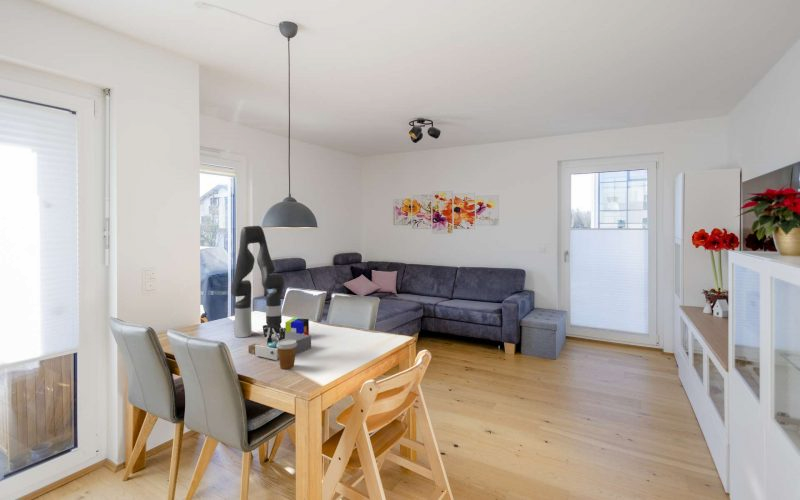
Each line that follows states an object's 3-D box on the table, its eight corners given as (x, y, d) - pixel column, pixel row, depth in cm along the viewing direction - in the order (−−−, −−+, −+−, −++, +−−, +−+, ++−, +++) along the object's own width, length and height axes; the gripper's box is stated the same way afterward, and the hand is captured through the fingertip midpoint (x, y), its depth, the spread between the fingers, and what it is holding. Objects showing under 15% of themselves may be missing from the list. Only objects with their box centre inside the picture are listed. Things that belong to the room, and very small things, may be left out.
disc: (265, 347, 201) (265, 343, 201) (274, 344, 206) (274, 340, 206) (274, 349, 198) (274, 345, 198) (282, 346, 204) (282, 342, 203)
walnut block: (248, 353, 207) (248, 345, 207) (254, 350, 210) (254, 343, 210) (253, 354, 205) (253, 346, 205) (260, 352, 209) (259, 344, 208)
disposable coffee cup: (279, 363, 192) (278, 339, 191) (299, 363, 192) (298, 338, 192) (274, 370, 182) (274, 345, 181) (295, 370, 183) (295, 344, 182)
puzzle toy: (301, 339, 231) (301, 322, 231) (285, 338, 233) (285, 322, 233) (308, 335, 241) (308, 318, 240) (293, 334, 243) (293, 318, 242)
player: (270, 350, 211) (269, 337, 210) (289, 343, 223) (289, 331, 222) (292, 355, 203) (292, 342, 202) (311, 348, 215) (311, 335, 215)
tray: (254, 355, 201) (254, 345, 201) (275, 347, 213) (275, 338, 213) (275, 360, 194) (275, 350, 193) (296, 352, 206) (296, 342, 206)
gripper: (257, 313, 202) (258, 346, 203) (278, 317, 195) (279, 350, 196) (269, 311, 208) (269, 342, 209) (289, 314, 201) (290, 346, 202)
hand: (274, 346), depth 202 cm, fingers closed on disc, 6 cm apart
